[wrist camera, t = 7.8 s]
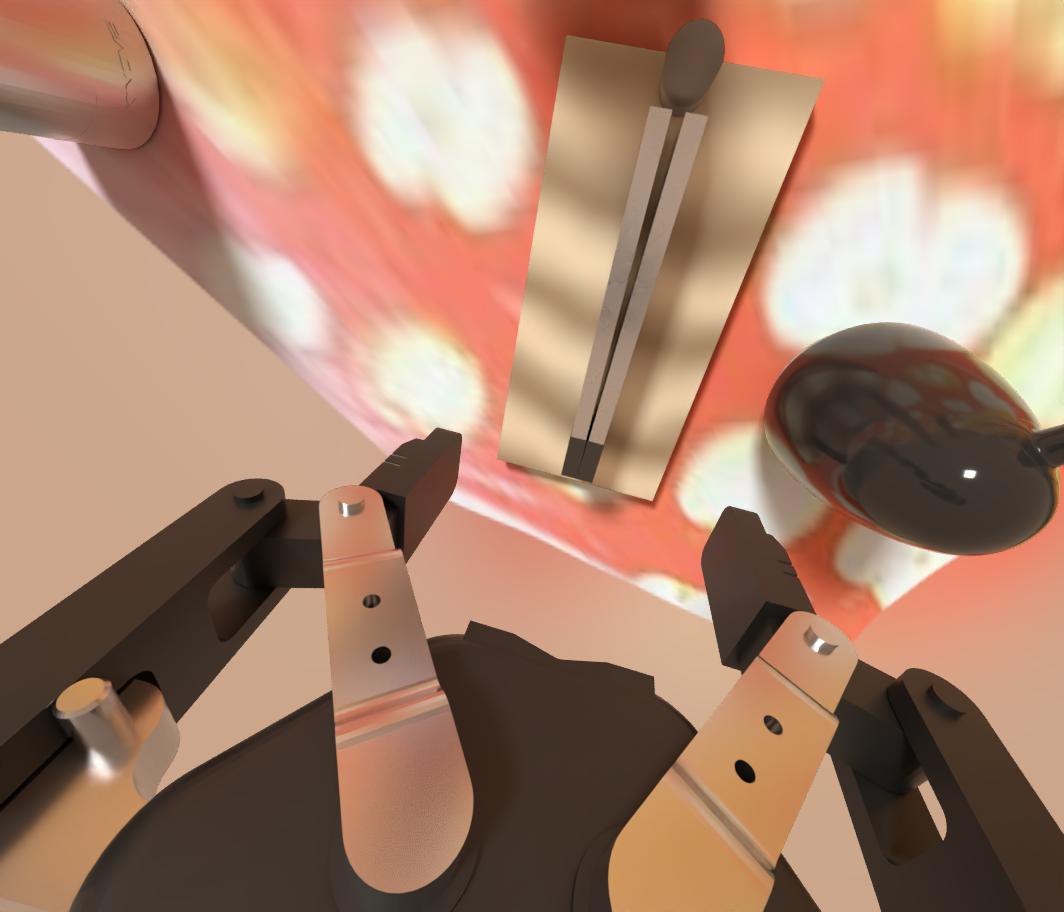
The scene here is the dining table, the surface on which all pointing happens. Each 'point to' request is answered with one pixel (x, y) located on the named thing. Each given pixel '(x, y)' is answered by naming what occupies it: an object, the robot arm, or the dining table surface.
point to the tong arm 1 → (617, 281)
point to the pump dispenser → (915, 440)
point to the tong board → (643, 241)
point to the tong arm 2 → (643, 285)
